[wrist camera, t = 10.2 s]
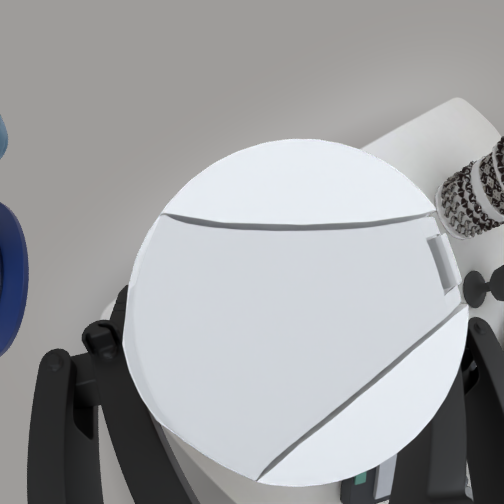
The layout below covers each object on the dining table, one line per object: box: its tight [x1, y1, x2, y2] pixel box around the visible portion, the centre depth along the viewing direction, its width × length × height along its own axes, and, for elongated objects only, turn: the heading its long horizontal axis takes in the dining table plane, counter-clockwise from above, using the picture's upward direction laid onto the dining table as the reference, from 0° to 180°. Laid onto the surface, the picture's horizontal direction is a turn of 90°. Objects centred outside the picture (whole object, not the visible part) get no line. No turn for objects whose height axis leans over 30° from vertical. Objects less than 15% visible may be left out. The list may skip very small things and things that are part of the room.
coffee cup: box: [122, 139, 468, 487], centre depth 12 cm, size 8×8×15 cm
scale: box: [340, 361, 476, 504], centre depth 25 cm, size 17×16×4 cm
